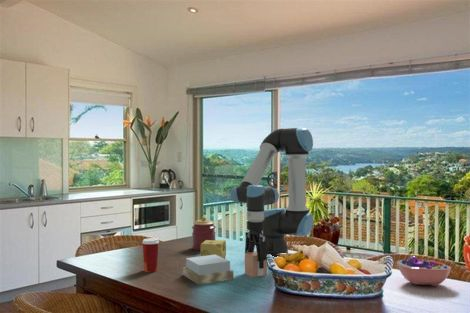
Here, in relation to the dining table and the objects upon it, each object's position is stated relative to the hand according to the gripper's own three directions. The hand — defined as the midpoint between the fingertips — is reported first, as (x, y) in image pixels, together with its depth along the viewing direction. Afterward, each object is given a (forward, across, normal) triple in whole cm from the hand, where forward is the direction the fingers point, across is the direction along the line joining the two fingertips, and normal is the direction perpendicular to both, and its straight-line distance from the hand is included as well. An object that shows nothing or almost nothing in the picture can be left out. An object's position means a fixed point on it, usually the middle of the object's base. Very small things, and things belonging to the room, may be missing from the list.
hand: (255, 273), depth 198 cm
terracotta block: (0, 0, 0) cm, 0 cm away
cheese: (+1, -28, -7) cm, 29 cm away
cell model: (0, +46, +50) cm, 68 cm away
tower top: (-3, -6, -20) cm, 21 cm away
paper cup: (+1, -28, -38) cm, 47 cm away
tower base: (+1, -6, -20) cm, 21 cm away
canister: (0, -58, +2) cm, 58 cm away
